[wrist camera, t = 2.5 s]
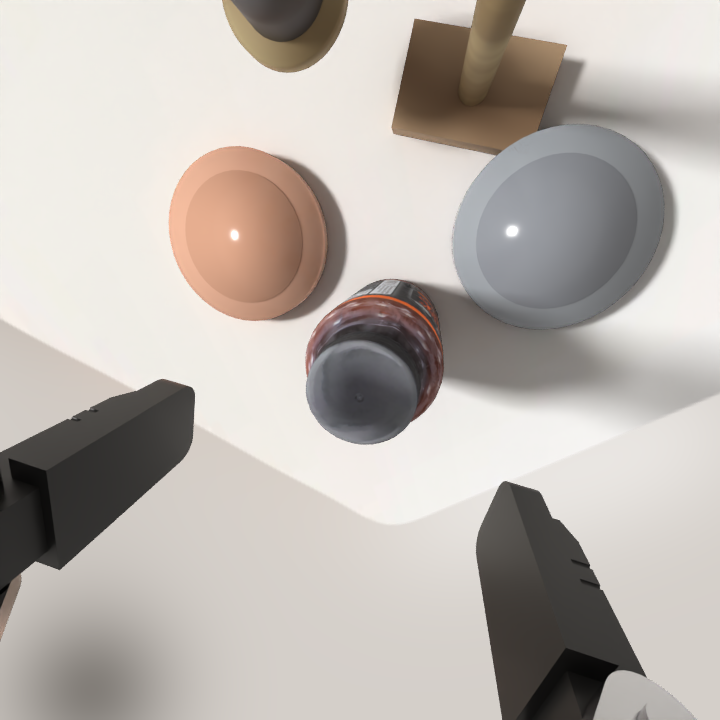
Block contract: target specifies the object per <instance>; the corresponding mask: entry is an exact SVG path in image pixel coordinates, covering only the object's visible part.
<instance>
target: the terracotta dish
mask: <svg viewBox="0 0 720 720" xmlns="http://www.w3.org/2000/svg"><path fill="white" fill-rule="evenodd" d="M169 234H170V241H171V246H172V250H173V253H174V256H175V259H176V262H177V264H178V266H179V268H180V270H181V272H182V274H183V276H184V277H185V279H186V281H187V282H188V284H189V285H190V286H191V287H192V289H193V290H194V291H195V292H196V293H197V294H198V295H199V296H200V297H201V298H202V299H203V300H204V301H205V302H206V303H208V304H209V305H210V306H212V307H213V308H215V309H216V310H218V311H220V312H222V313H224V314H226V315H228V316H231V317H234V318H237V319H242V320H251V321H259V320H267V319H271V318H275V317H277V316H280V315H282V314H284V313H286V312H288V311H290V310H292V309H293V308H295V307H297V306H298V305H299V304H301V303H302V302H303V301H304V300H305V299H306V298H307V297H308V296H309V295H310V294H311V293H312V291H313V290H314V289H315V287H316V285H317V283H318V282H319V280H320V278H321V275H322V273H323V270H324V266H325V262H326V257H327V248H328V240H327V229H326V223H325V219H324V215H323V212H322V210H321V207H320V204H319V202H318V200H317V198H316V196H315V195H314V193H313V191H312V190H311V188H310V187H309V185H308V184H307V183H306V181H305V180H304V179H303V178H302V177H301V176H300V175H299V174H298V173H297V172H296V171H295V170H294V169H292V168H291V167H290V166H289V165H287V164H286V163H284V162H282V161H281V160H279V159H277V158H275V157H273V156H271V155H269V154H267V153H265V152H263V151H260V150H257V149H253V148H249V147H241V146H233V147H225V148H219V149H217V150H214V151H211V152H209V153H207V154H205V155H204V156H202V157H200V158H199V159H198V160H196V161H195V162H194V163H193V164H192V165H191V166H190V167H189V168H188V169H187V170H186V171H185V173H184V174H183V176H182V177H181V179H180V180H179V182H178V185H177V187H176V189H175V191H174V194H173V198H172V201H171V206H170V212H169Z"/></svg>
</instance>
